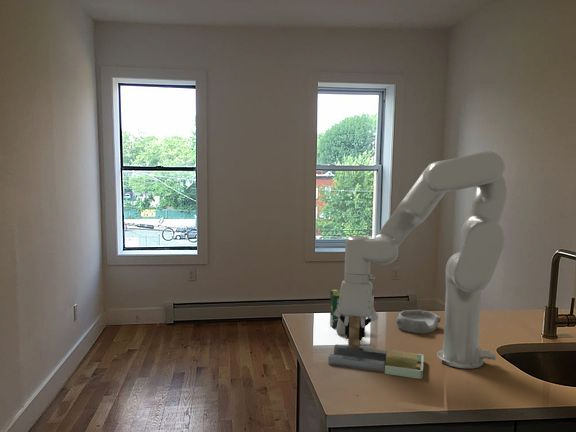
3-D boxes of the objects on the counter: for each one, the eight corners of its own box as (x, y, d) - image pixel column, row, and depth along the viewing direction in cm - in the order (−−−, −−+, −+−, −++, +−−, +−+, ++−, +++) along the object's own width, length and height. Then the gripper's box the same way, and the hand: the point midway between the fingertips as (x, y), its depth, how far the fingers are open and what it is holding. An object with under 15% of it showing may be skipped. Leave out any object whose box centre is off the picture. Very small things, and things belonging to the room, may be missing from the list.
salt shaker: (353, 340, 151) (354, 300, 150) (335, 338, 152) (336, 299, 151) (354, 334, 157) (355, 296, 155) (337, 333, 158) (338, 295, 157)
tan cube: (401, 365, 130) (402, 351, 130) (400, 371, 126) (401, 357, 126) (387, 363, 131) (387, 349, 131) (385, 369, 128) (386, 355, 127)
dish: (442, 327, 167) (443, 313, 167) (431, 338, 155) (432, 323, 155) (402, 319, 175) (403, 306, 174) (389, 329, 163) (389, 315, 163)
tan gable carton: (360, 344, 143) (361, 312, 142) (358, 349, 139) (359, 316, 138) (350, 343, 144) (351, 311, 143) (348, 348, 140) (349, 315, 139)
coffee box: (331, 328, 162) (332, 291, 161) (329, 325, 165) (330, 289, 164) (353, 327, 164) (355, 290, 163) (350, 324, 167) (352, 288, 166)
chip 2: (416, 367, 129) (417, 353, 129) (416, 373, 125) (416, 359, 125) (401, 365, 130) (402, 351, 130) (400, 371, 127) (401, 356, 126)
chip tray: (423, 364, 133) (423, 354, 133) (422, 382, 121) (422, 371, 121) (388, 360, 136) (389, 350, 135) (384, 377, 124) (385, 366, 124)
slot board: (386, 361, 135) (387, 351, 134) (383, 375, 125) (383, 364, 125) (335, 354, 139) (335, 344, 139) (328, 367, 130) (328, 356, 129)
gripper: (386, 277, 141) (383, 337, 142) (332, 273, 145) (330, 331, 147) (383, 283, 133) (380, 346, 135) (327, 278, 138) (325, 339, 140)
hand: (354, 337), depth 141 cm, fingers closed on tan gable carton, 3 cm apart
